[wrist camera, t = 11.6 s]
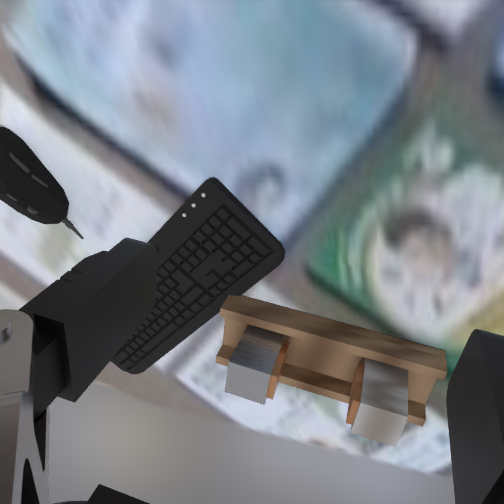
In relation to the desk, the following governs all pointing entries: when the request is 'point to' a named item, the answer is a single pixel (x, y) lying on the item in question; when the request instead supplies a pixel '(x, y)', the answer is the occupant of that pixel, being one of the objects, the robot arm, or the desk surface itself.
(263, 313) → the rail
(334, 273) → the desk surface
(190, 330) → the keyboard
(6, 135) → the gaming mouse
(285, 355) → the gray metallic block
